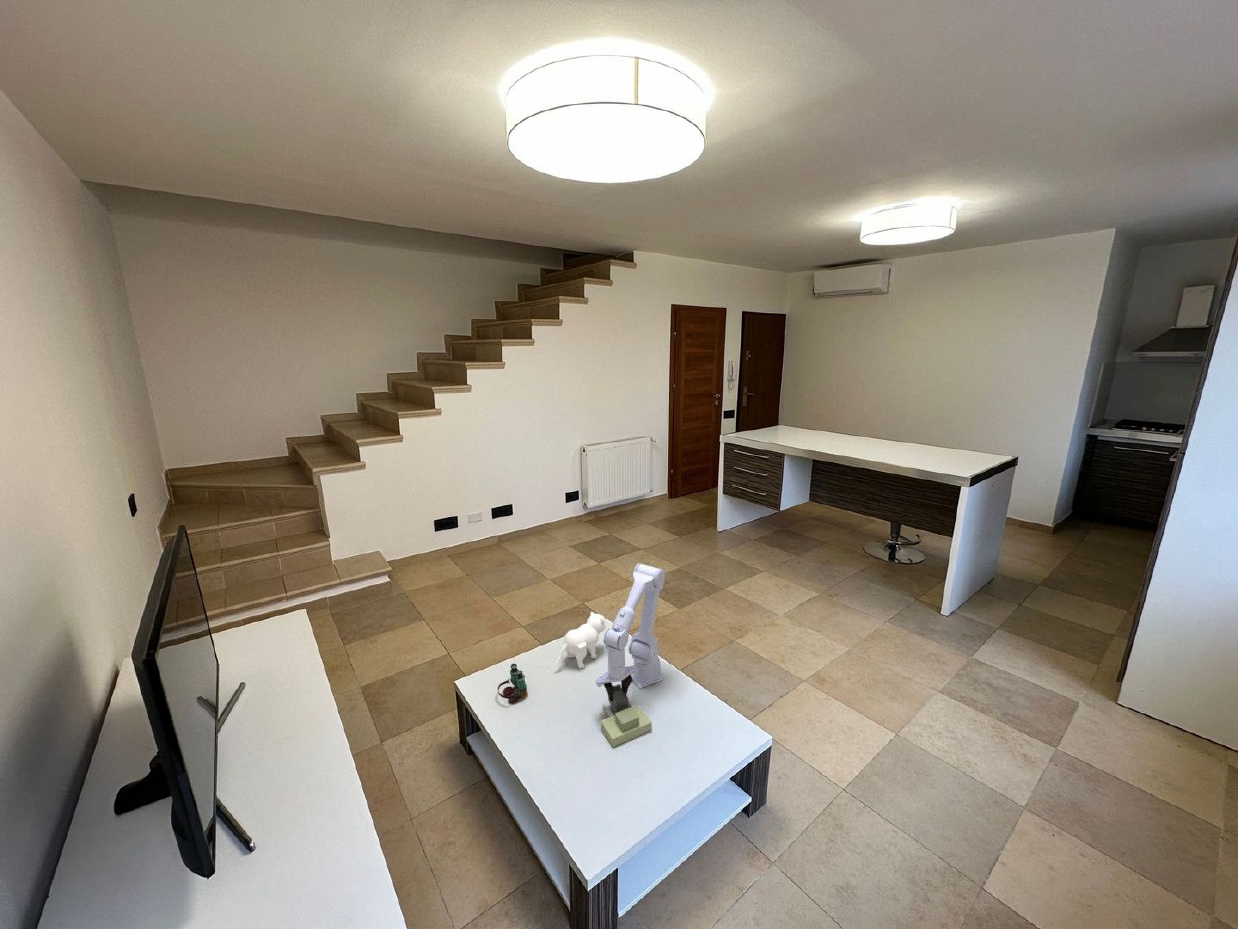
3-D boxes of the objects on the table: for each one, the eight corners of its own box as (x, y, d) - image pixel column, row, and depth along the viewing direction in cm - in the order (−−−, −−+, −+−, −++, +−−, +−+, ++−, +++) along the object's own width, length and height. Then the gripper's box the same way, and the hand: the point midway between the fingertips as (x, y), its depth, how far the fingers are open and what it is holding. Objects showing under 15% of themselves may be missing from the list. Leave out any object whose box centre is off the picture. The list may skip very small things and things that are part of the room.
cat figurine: (563, 680, 180) (560, 641, 176) (548, 666, 188) (546, 628, 184) (615, 652, 196) (614, 615, 191) (600, 640, 203) (598, 605, 199)
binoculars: (491, 673, 171) (516, 659, 176) (496, 696, 174) (521, 682, 180) (501, 686, 164) (528, 671, 169) (507, 711, 167) (533, 695, 173)
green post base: (627, 697, 171) (626, 683, 169) (651, 730, 157) (651, 714, 155) (590, 712, 165) (590, 697, 163) (612, 747, 150) (612, 731, 149)
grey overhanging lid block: (619, 696, 169) (619, 683, 168) (628, 707, 164) (628, 694, 163) (608, 700, 167) (608, 688, 166) (616, 712, 162) (616, 699, 161)
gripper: (629, 649, 169) (630, 682, 172) (591, 662, 162) (593, 696, 166) (639, 660, 162) (640, 695, 166) (600, 674, 156) (602, 710, 159)
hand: (617, 696), depth 165 cm, fingers closed on grey overhanging lid block, 4 cm apart
